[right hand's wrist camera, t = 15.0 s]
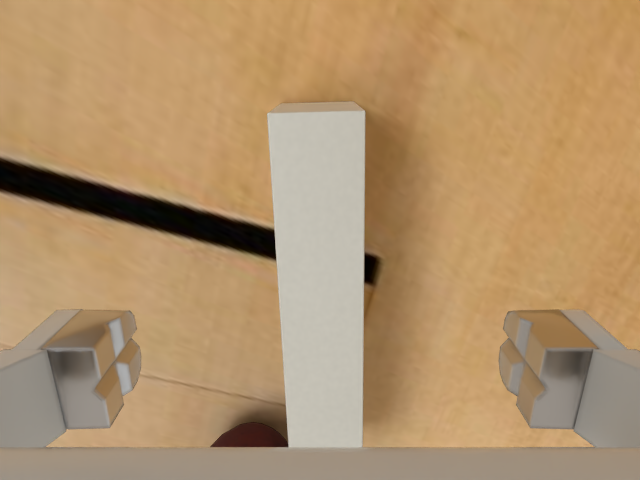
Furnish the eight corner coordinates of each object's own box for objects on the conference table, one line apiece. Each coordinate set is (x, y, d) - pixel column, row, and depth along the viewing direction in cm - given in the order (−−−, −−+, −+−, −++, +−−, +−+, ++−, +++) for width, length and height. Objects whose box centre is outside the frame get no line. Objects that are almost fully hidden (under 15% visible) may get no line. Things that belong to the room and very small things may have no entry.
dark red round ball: (306, 462, 41) (304, 538, 34) (225, 478, 41) (207, 555, 35) (284, 398, 38) (277, 465, 32) (198, 416, 39) (173, 485, 32)
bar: (279, 103, 30) (266, 113, 23) (354, 101, 30) (365, 110, 23) (297, 429, 40) (292, 511, 32) (354, 428, 40) (362, 510, 32)
